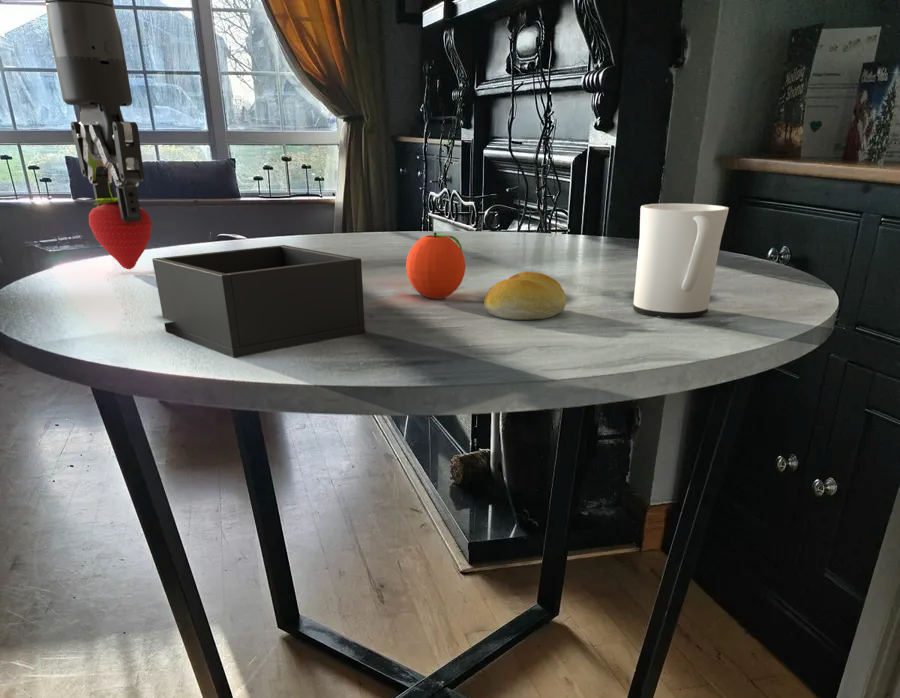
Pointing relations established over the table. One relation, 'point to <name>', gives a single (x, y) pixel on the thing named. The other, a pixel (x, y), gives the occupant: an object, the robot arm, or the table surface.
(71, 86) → the robot arm
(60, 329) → the table surface
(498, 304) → the bread roll
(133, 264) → the strawberry
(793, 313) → the table surface
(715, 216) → the mug
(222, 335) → the open box
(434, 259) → the clementine
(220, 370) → the table surface
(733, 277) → the table surface
